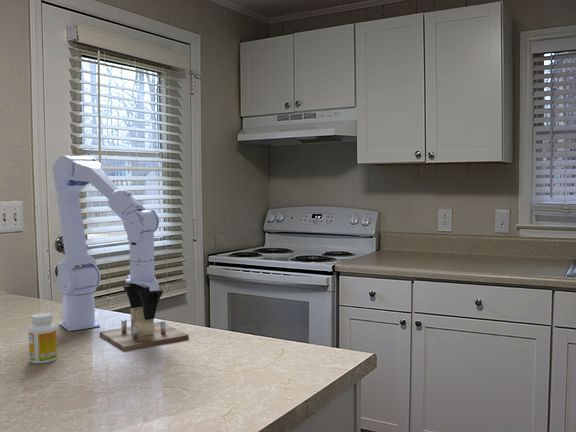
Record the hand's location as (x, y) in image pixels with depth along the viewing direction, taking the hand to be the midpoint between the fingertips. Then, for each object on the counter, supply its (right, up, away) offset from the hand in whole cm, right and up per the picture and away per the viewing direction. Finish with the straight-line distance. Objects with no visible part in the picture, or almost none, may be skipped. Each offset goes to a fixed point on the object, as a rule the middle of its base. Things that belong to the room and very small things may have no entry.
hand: (143, 316), depth 140 cm
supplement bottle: (-17, -7, -17) cm, 25 cm away
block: (0, -4, 0) cm, 4 cm away
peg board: (0, -5, 0) cm, 5 cm away
